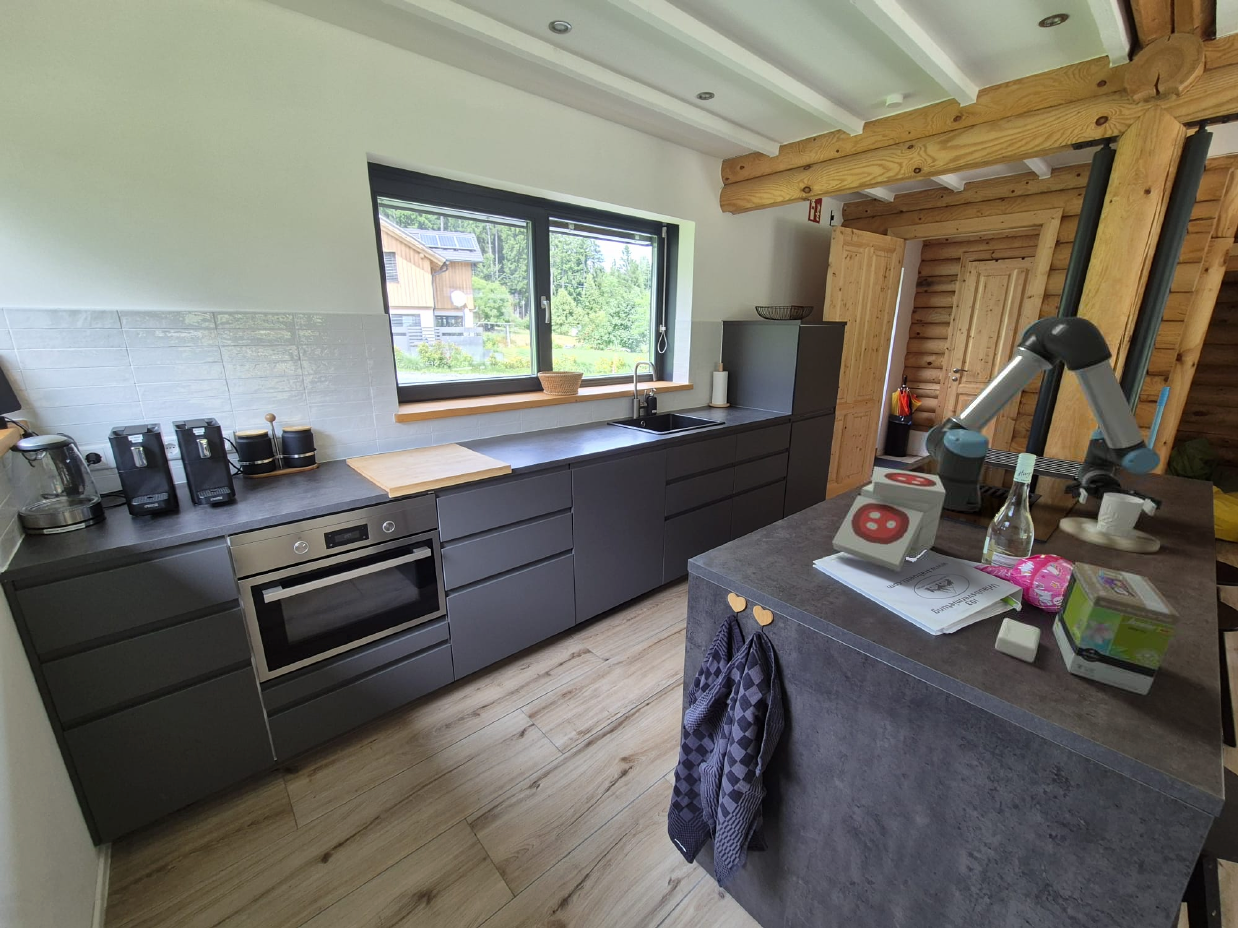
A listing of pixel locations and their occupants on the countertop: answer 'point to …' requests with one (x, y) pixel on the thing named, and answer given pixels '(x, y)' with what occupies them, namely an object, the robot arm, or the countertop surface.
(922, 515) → the pizza boxes
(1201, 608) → the countertop surface
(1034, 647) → the soap
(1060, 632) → the tea box
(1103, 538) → the turntable platter
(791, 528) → the countertop surface
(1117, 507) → the white cup
